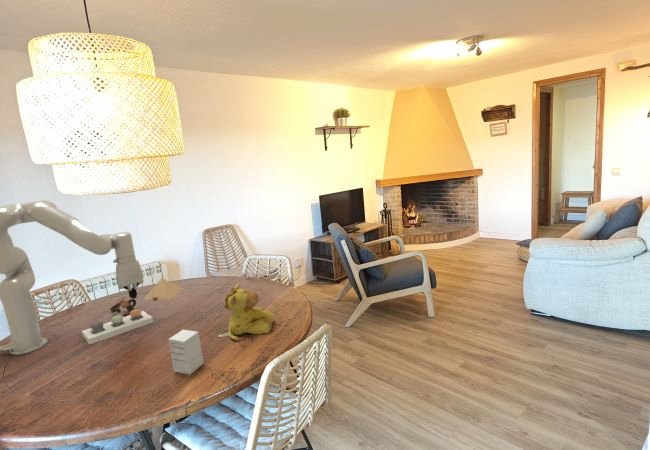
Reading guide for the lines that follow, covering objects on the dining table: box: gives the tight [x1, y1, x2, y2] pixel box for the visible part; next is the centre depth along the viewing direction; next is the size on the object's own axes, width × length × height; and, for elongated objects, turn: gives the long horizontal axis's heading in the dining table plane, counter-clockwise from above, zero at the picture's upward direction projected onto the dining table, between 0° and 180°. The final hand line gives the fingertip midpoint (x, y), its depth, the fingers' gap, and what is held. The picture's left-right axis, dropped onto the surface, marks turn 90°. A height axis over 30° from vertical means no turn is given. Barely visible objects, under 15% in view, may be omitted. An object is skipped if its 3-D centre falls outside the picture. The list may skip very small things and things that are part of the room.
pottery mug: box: [109, 298, 137, 317], centre depth 186 cm, size 12×10×8 cm
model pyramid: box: [142, 277, 185, 301], centre depth 209 cm, size 17×17×10 cm
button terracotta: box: [130, 308, 142, 320], centre depth 172 cm, size 5×5×4 cm
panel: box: [81, 310, 154, 346], centre depth 168 cm, size 26×12×2 cm, turn 134°
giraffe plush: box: [218, 283, 275, 342], centre depth 157 cm, size 20×24×19 cm
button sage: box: [110, 314, 124, 327], centre depth 167 cm, size 5×5×4 cm
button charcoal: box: [89, 320, 104, 333], centre depth 162 cm, size 5×5×4 cm
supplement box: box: [168, 329, 204, 376], centre depth 130 cm, size 7×7×13 cm
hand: (133, 297), depth 171 cm, fingers closed
